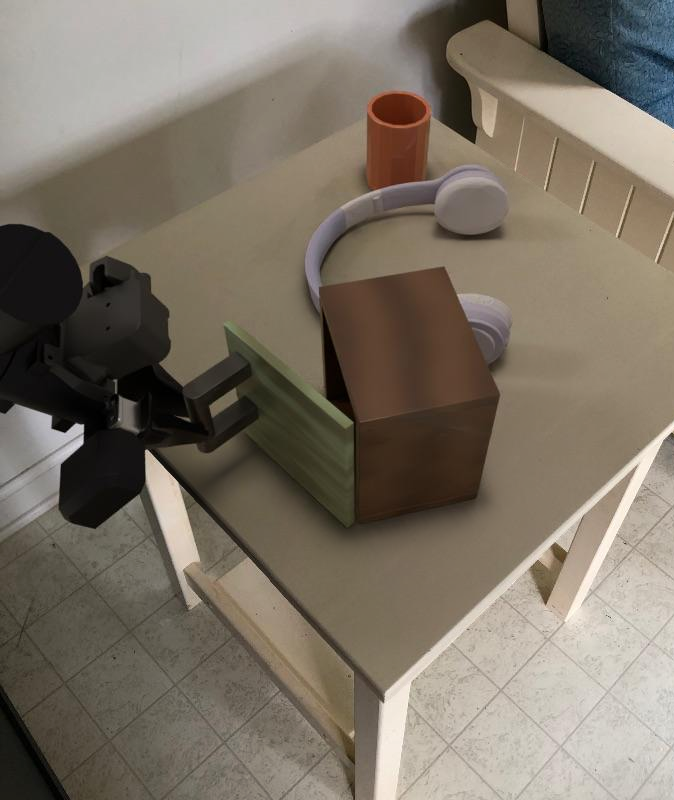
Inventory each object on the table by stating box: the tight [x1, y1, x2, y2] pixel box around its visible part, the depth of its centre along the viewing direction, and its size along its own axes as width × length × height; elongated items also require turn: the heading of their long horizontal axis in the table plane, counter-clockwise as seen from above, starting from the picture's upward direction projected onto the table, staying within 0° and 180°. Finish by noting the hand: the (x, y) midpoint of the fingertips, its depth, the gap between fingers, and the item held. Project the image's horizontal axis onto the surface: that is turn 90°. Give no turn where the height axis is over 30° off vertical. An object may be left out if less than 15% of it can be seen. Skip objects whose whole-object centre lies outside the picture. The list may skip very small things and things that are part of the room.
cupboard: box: [319, 266, 501, 525], centre depth 65 cm, size 10×13×14 cm
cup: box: [365, 90, 432, 192], centre depth 89 cm, size 7×7×9 cm
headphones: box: [304, 164, 513, 366], centre depth 80 cm, size 22×7×20 cm
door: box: [182, 318, 355, 529], centre depth 62 cm, size 6×13×14 cm, turn 46°
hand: (205, 425), depth 62 cm, fingers closed
